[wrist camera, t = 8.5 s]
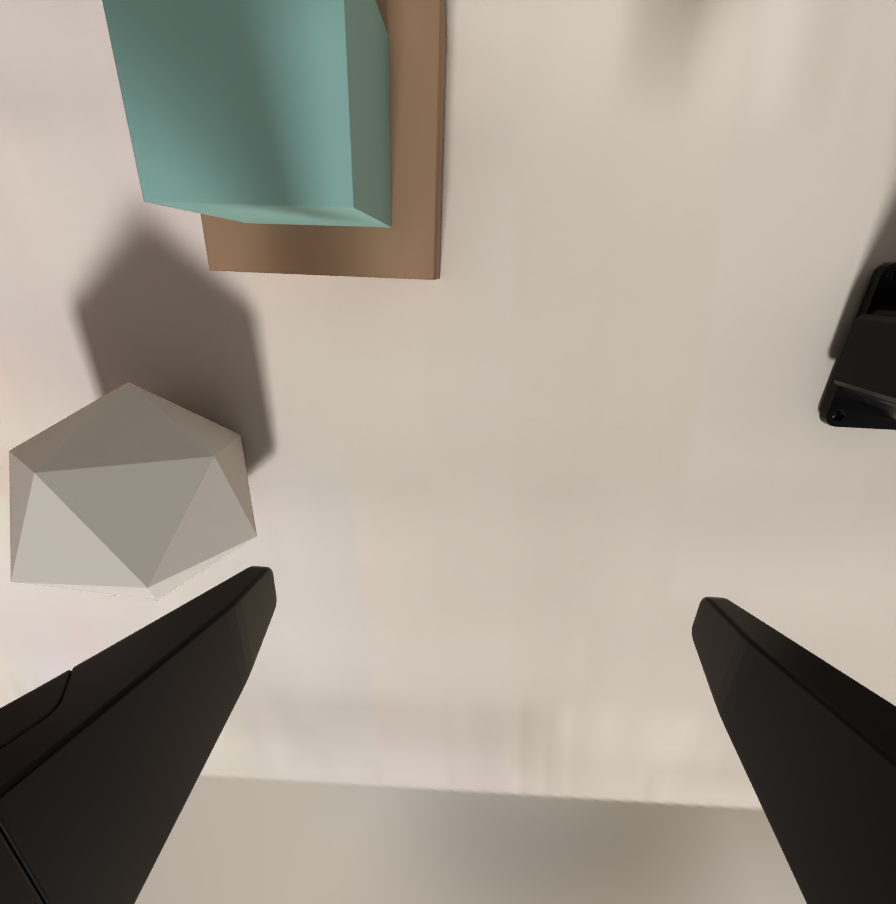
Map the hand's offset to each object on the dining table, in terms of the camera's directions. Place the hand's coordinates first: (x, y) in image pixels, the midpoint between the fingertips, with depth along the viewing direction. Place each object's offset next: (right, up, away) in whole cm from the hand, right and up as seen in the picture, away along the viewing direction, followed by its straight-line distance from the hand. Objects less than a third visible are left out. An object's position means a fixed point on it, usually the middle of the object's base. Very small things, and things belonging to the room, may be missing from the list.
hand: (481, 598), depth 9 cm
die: (-13, +3, +13) cm, 19 cm away
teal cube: (-5, +13, +5) cm, 15 cm away
